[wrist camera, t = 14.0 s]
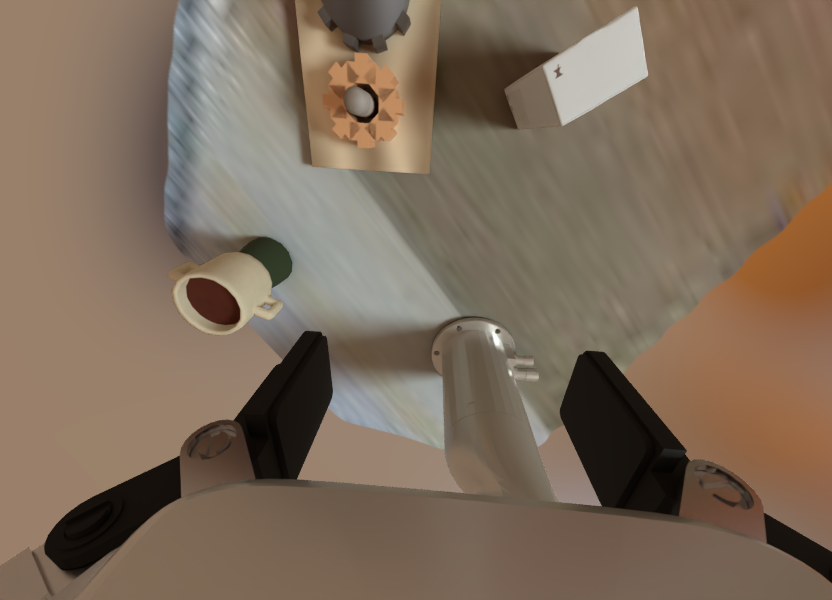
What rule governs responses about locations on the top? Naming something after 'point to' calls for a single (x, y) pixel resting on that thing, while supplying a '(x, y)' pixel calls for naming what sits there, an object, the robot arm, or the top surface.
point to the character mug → (231, 287)
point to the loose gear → (365, 77)
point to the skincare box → (581, 75)
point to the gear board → (386, 45)
